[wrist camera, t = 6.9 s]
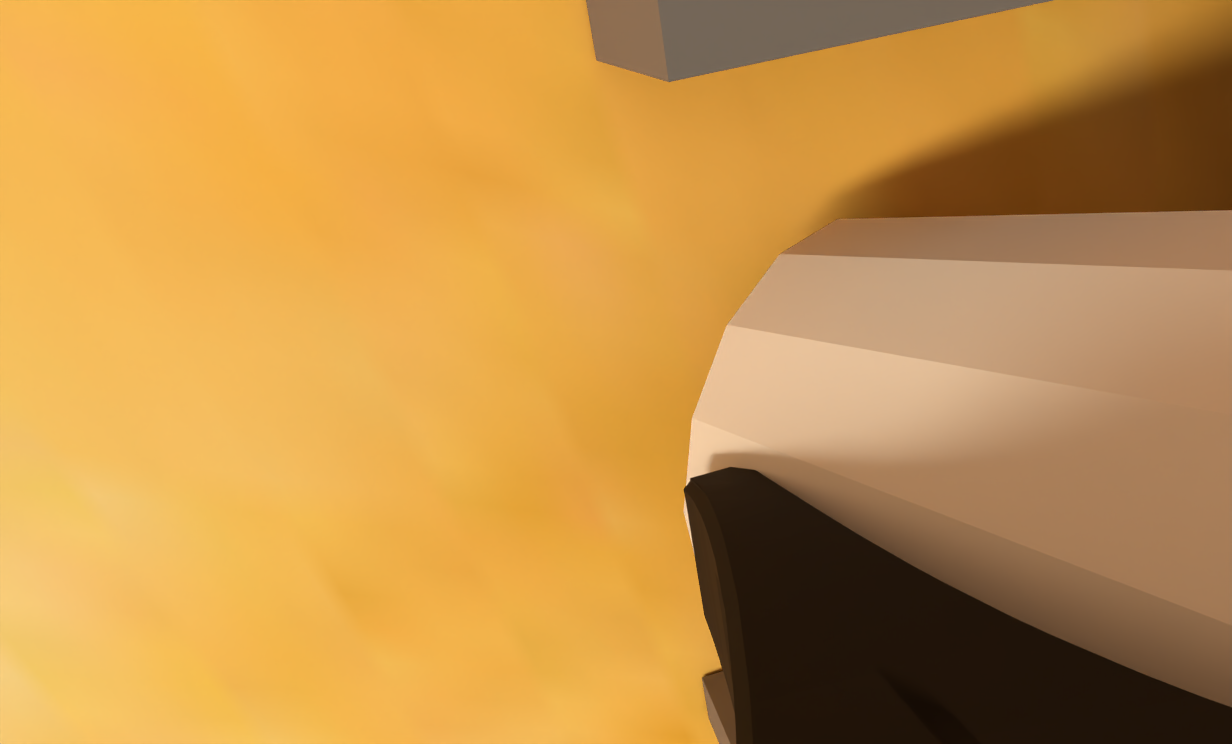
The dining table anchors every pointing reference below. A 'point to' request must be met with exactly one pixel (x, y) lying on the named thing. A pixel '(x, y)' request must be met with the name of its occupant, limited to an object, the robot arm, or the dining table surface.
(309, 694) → the dining table surface
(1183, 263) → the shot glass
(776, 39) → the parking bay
